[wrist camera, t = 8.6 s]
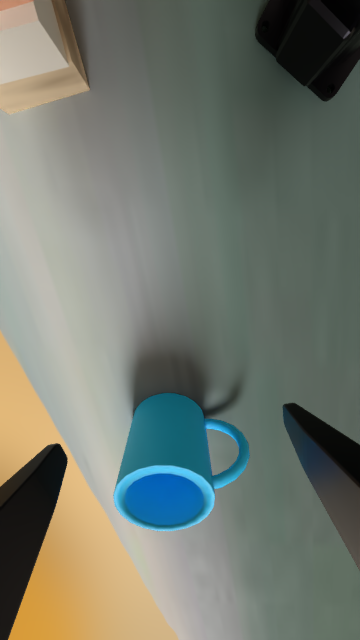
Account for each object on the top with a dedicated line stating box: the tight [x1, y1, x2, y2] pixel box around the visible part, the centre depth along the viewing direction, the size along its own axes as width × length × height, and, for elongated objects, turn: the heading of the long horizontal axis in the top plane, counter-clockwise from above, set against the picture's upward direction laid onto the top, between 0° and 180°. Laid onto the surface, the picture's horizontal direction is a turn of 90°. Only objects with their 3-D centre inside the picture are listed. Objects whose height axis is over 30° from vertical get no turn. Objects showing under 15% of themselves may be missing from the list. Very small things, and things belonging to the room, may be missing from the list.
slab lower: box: [0, 0, 90, 114], centre depth 13 cm, size 6×6×3 cm
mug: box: [113, 393, 250, 531], centre depth 22 cm, size 12×8×8 cm
